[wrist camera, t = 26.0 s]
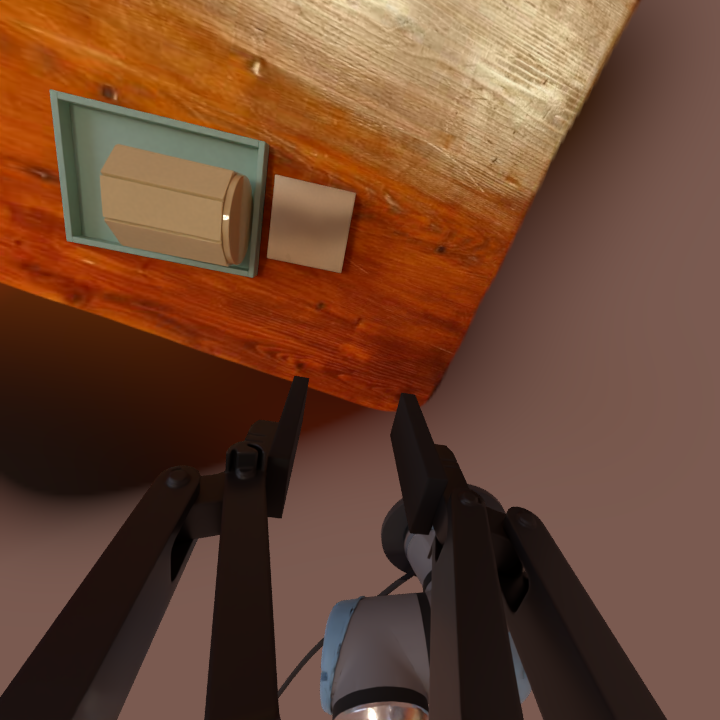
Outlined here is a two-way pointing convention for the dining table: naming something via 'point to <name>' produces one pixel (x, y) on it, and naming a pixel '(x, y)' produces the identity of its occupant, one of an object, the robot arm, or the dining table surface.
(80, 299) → the dining table surface
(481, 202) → the dining table surface
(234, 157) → the tray
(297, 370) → the dining table surface
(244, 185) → the cup
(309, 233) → the block
